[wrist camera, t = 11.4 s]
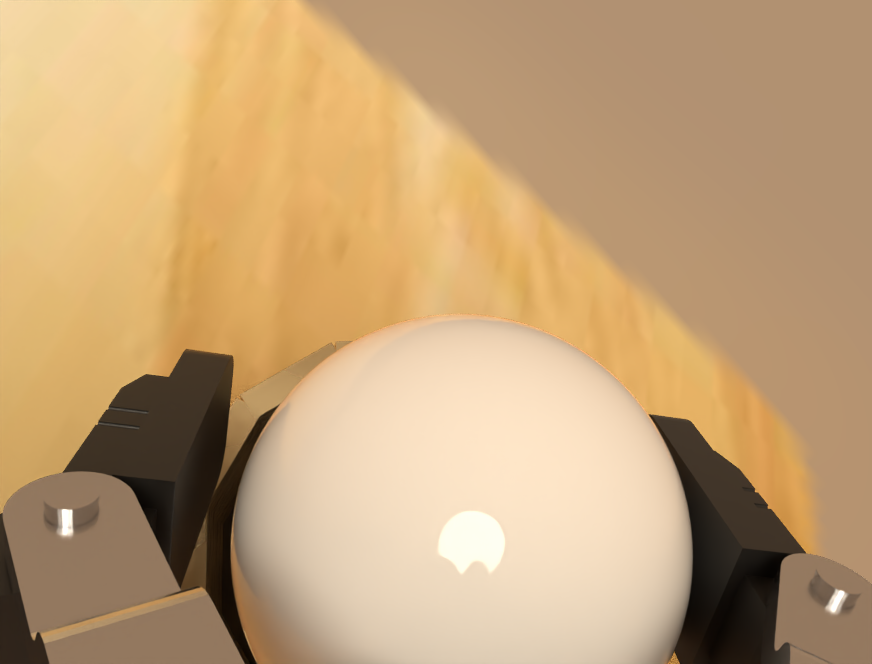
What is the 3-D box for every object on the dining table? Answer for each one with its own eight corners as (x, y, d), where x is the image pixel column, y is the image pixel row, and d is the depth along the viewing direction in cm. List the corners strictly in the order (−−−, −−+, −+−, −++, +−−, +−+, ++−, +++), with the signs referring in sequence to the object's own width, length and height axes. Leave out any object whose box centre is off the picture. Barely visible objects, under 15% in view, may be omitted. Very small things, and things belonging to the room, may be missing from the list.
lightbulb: (411, 390, 19) (548, 149, 9) (564, 590, 18) (908, 561, 8) (199, 541, 17) (77, 437, 7) (360, 779, 16) (489, 1063, 6)
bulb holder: (160, 816, 16) (115, 886, 12) (177, 378, 19) (147, 313, 15) (590, 755, 18) (680, 795, 14) (535, 368, 21) (593, 308, 17)
